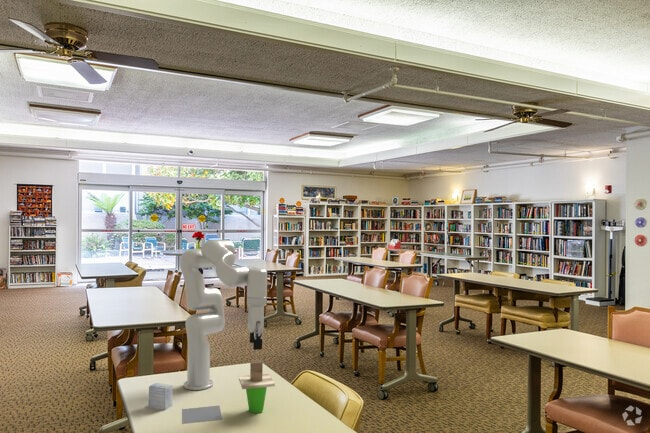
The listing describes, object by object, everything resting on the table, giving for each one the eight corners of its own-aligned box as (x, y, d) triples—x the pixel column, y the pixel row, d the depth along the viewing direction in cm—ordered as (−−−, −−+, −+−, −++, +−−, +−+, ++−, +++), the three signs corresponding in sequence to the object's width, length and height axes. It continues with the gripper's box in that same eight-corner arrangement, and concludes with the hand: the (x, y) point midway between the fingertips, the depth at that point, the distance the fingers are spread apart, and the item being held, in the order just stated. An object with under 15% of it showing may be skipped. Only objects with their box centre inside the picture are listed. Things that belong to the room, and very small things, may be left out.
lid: (238, 379, 187) (238, 358, 188) (269, 376, 191) (269, 356, 191) (242, 389, 176) (242, 367, 176) (274, 386, 179) (274, 364, 179)
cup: (263, 417, 178) (263, 387, 178) (240, 415, 180) (240, 385, 180) (271, 408, 187) (271, 379, 187) (249, 406, 188) (249, 378, 189)
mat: (182, 410, 184) (182, 409, 184) (219, 406, 188) (219, 405, 188) (182, 425, 171) (182, 423, 171) (222, 420, 175) (222, 419, 175)
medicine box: (172, 407, 187) (172, 384, 187) (165, 411, 183) (165, 388, 183) (155, 404, 190) (156, 382, 190) (148, 408, 186) (148, 385, 186)
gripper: (244, 297, 191) (243, 340, 191) (250, 305, 174) (248, 352, 175) (262, 297, 193) (261, 339, 193) (270, 305, 177) (269, 351, 177)
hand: (255, 345), depth 184 cm, fingers open, 9 cm apart
